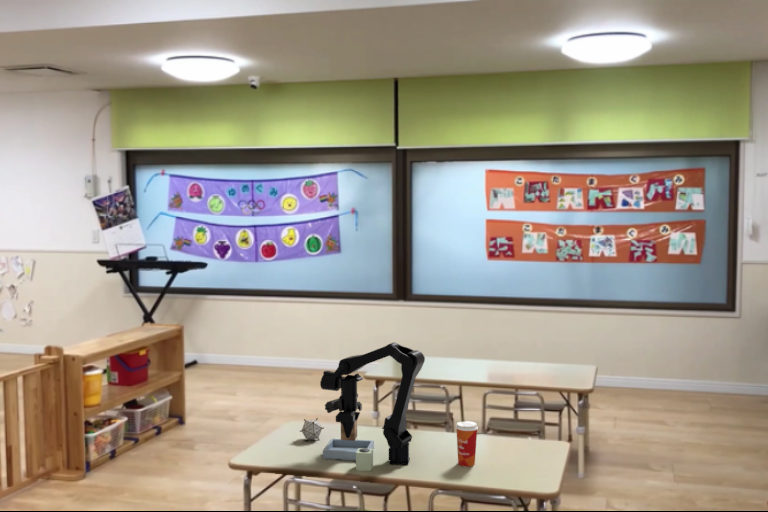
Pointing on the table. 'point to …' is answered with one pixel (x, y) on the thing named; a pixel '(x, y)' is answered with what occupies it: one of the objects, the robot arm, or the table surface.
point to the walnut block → (353, 433)
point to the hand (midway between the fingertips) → (349, 435)
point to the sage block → (364, 459)
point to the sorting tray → (345, 448)
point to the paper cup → (466, 443)
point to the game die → (311, 429)
